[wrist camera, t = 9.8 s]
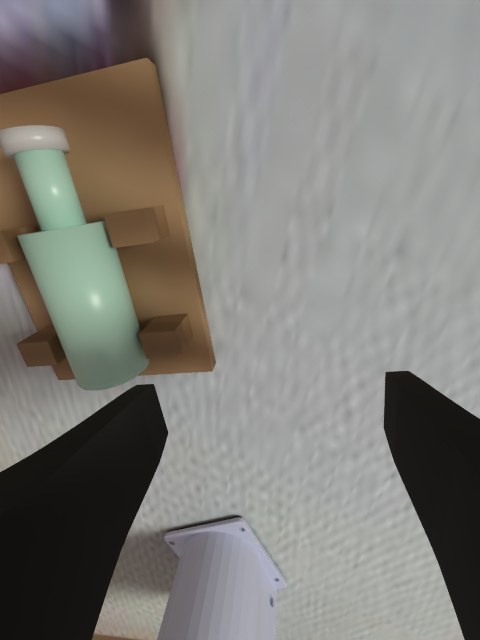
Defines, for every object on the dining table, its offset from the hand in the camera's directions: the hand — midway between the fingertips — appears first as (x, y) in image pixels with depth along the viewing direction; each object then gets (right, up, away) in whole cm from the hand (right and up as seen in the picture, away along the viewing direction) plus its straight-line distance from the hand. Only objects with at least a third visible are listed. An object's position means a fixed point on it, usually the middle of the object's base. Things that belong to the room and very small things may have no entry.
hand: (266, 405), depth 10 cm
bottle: (-10, +6, +8) cm, 14 cm away
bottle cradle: (-9, +7, +9) cm, 14 cm away
